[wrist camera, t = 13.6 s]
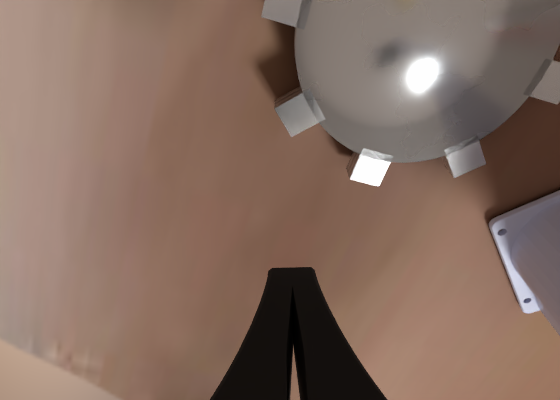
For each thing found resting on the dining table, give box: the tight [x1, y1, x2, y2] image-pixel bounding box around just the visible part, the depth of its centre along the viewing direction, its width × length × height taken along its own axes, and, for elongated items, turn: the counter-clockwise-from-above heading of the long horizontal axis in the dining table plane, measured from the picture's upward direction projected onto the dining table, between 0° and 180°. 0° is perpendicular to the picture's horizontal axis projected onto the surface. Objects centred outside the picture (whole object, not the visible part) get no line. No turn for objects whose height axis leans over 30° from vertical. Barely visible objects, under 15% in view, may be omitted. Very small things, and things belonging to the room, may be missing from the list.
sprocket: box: [261, 0, 560, 186], centre depth 14 cm, size 14×14×5 cm
